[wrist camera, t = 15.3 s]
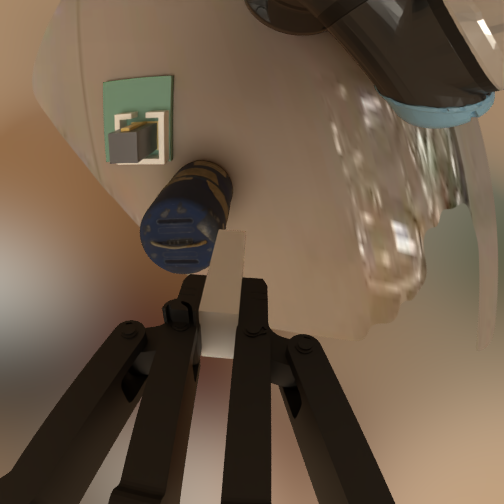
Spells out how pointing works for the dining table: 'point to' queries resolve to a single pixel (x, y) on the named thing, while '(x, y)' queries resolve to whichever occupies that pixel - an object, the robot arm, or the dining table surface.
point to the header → (161, 134)
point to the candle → (187, 218)
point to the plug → (132, 142)
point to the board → (137, 103)
